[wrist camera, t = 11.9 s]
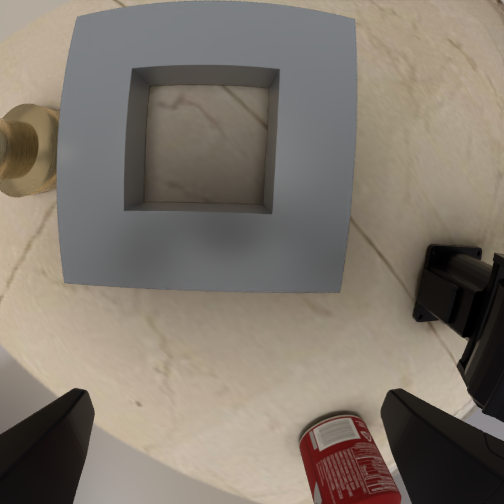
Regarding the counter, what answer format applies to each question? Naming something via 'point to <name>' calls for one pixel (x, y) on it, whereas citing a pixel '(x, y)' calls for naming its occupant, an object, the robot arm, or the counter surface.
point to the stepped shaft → (28, 150)
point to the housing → (208, 214)
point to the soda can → (346, 464)
